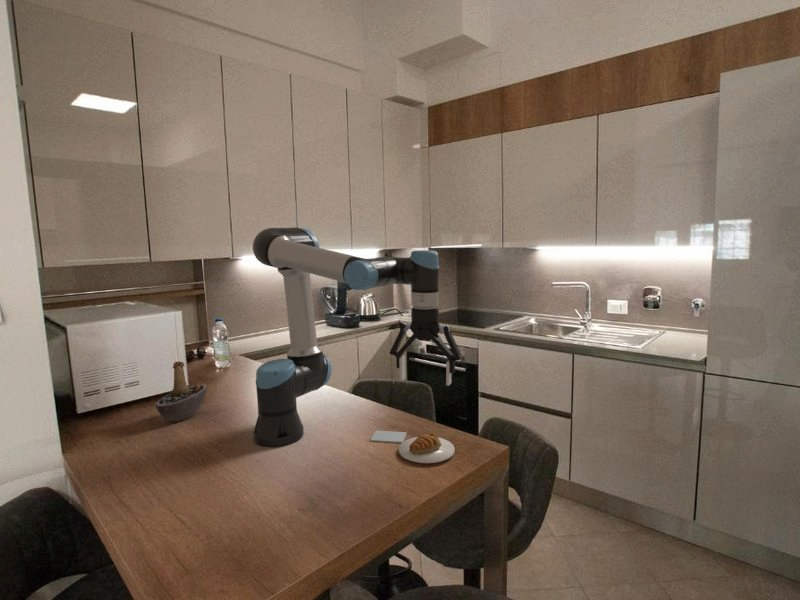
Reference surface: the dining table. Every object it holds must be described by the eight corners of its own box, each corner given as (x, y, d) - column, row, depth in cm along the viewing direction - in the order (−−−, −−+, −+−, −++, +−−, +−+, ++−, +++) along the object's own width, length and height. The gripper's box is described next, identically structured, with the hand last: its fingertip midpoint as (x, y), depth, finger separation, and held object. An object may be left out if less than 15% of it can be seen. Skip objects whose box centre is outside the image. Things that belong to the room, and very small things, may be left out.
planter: (208, 406, 176) (204, 354, 173) (205, 423, 160) (200, 365, 158) (164, 412, 171) (159, 358, 169) (156, 430, 156) (151, 370, 153)
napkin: (370, 441, 144) (370, 439, 144) (375, 431, 151) (375, 430, 151) (402, 443, 143) (402, 441, 142) (406, 433, 149) (406, 432, 149)
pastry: (420, 459, 130) (420, 445, 129) (403, 451, 135) (402, 438, 134) (443, 447, 136) (443, 435, 136) (425, 441, 141) (425, 428, 141)
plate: (390, 460, 132) (390, 456, 132) (409, 437, 147) (409, 433, 146) (446, 469, 126) (446, 465, 126) (460, 444, 141) (460, 440, 141)
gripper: (377, 307, 131) (379, 381, 134) (466, 311, 123) (466, 390, 126) (387, 303, 138) (388, 373, 141) (472, 306, 130) (472, 381, 133)
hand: (425, 381), depth 134 cm, fingers open, 13 cm apart
